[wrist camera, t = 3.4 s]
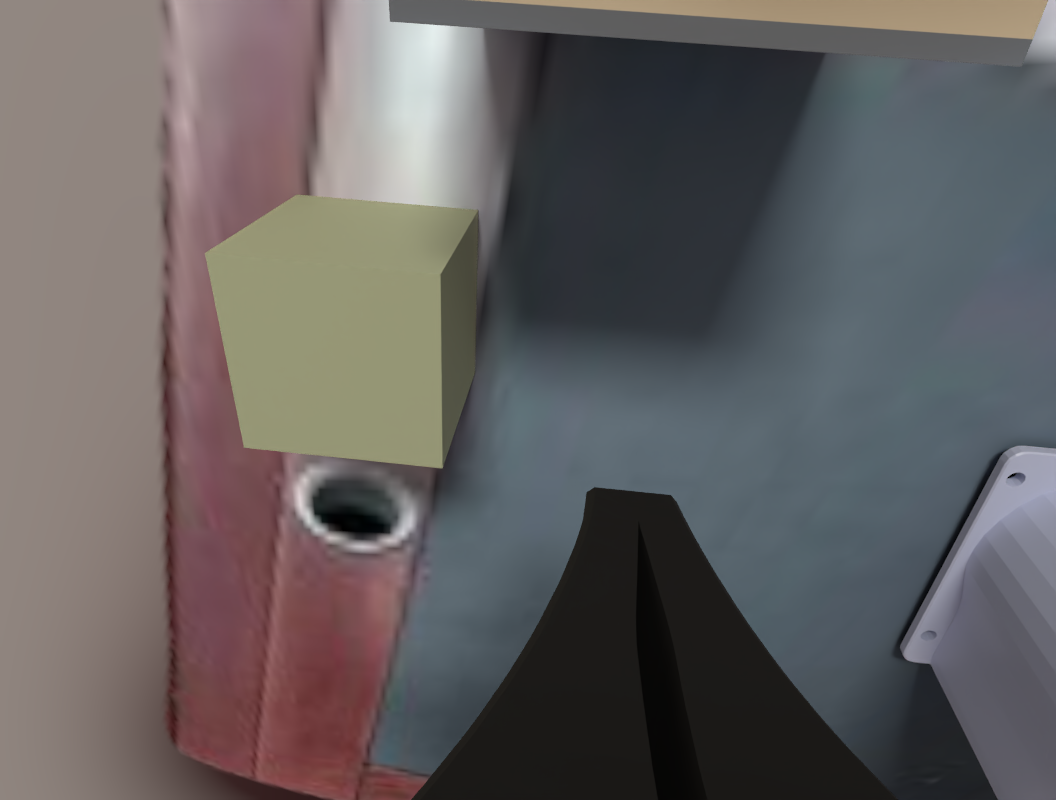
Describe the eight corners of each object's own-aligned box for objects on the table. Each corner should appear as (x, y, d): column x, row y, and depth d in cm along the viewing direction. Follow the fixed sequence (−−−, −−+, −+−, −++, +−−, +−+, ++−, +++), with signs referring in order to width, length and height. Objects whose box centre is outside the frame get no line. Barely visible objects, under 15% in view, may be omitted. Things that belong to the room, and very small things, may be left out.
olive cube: (475, 371, 21) (442, 468, 16) (317, 355, 21) (244, 447, 16) (478, 209, 18) (440, 274, 14) (298, 194, 18) (204, 253, 14)
